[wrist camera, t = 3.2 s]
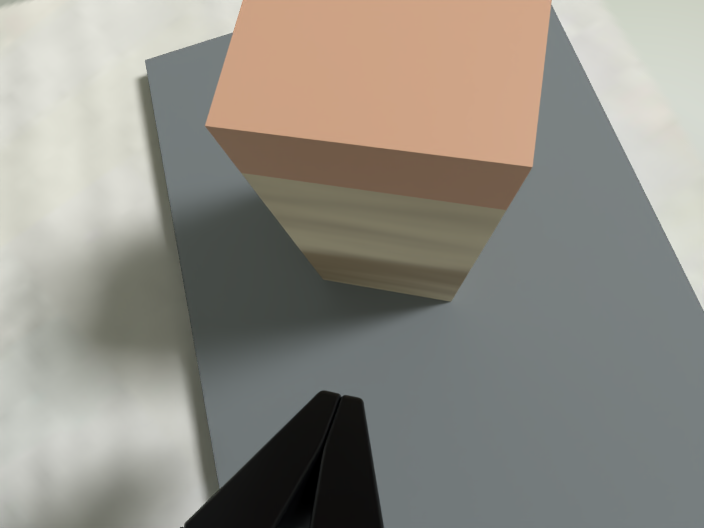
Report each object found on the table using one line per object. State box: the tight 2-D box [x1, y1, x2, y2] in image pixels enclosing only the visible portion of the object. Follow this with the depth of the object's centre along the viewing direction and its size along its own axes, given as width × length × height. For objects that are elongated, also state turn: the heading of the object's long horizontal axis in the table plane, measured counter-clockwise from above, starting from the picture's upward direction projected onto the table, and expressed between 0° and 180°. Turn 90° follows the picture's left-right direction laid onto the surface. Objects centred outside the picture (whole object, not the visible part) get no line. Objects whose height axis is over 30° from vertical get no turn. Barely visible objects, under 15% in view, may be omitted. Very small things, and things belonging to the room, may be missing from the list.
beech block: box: [205, 0, 552, 302], centre depth 11 cm, size 4×4×10 cm
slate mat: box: [145, 5, 704, 528], centre depth 16 cm, size 22×16×1 cm
